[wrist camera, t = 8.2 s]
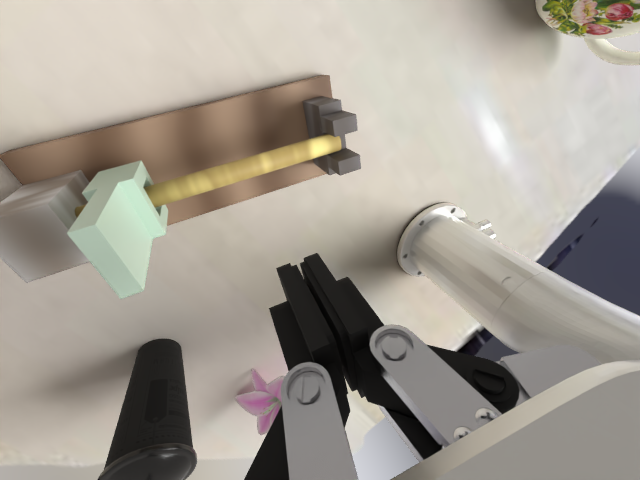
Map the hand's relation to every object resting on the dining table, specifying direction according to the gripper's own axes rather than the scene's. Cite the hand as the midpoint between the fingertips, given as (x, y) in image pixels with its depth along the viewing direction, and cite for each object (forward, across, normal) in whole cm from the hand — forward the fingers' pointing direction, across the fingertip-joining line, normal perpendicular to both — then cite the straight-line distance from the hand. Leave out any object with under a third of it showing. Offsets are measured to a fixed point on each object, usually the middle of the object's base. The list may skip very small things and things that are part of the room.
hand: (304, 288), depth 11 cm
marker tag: (+17, +9, -1) cm, 19 cm away
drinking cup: (+21, +17, +20) cm, 34 cm away
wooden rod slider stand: (+21, +3, -1) cm, 21 cm away
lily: (+22, +7, +35) cm, 42 cm away
